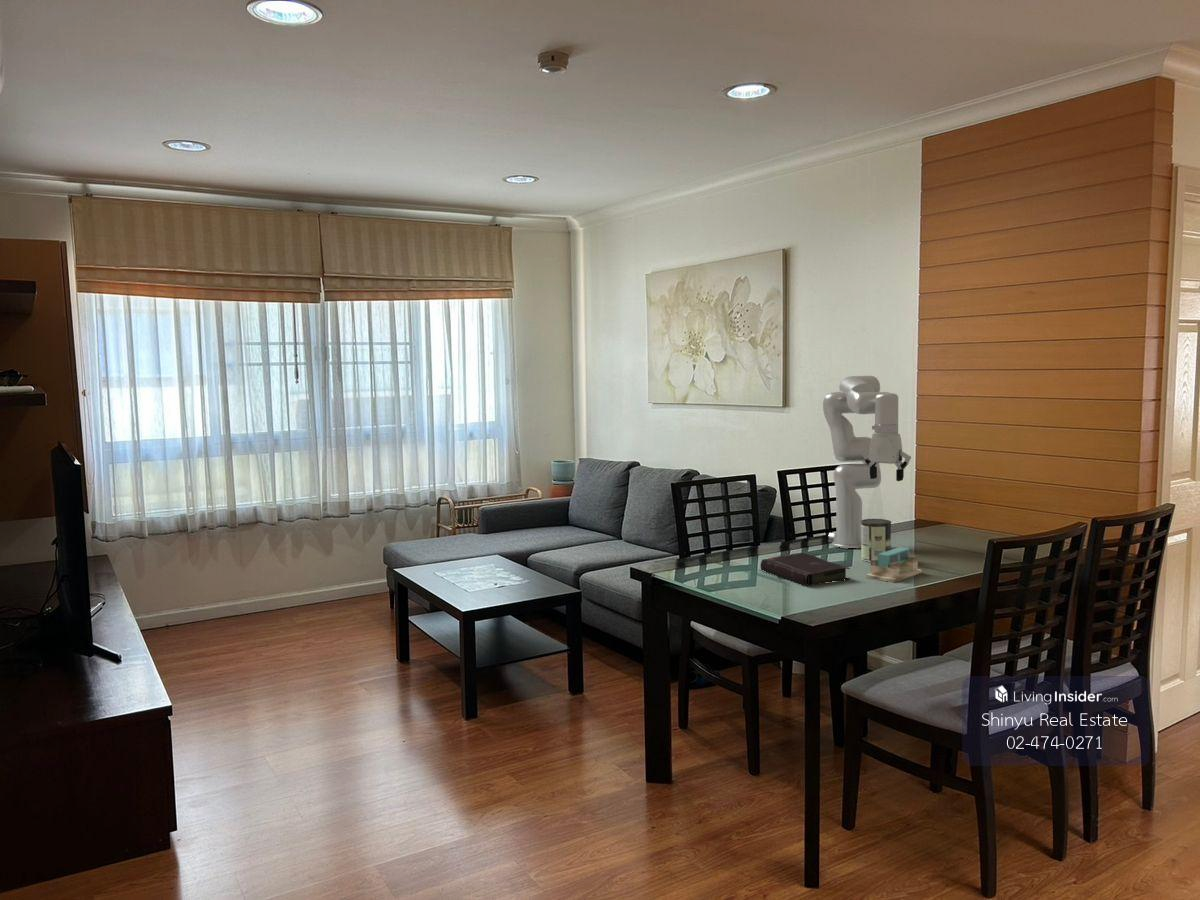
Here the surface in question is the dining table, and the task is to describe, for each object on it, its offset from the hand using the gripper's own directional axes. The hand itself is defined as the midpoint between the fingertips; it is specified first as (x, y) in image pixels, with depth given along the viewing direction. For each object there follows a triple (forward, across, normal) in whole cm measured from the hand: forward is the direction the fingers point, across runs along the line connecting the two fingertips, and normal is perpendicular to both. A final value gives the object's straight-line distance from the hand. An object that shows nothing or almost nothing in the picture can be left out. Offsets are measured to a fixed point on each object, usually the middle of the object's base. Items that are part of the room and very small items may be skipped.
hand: (886, 479), depth 293 cm
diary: (+31, -14, -28) cm, 44 cm away
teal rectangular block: (+26, +8, -9) cm, 29 cm away
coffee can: (+31, -8, +7) cm, 32 cm away
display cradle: (+30, +8, -9) cm, 33 cm away
